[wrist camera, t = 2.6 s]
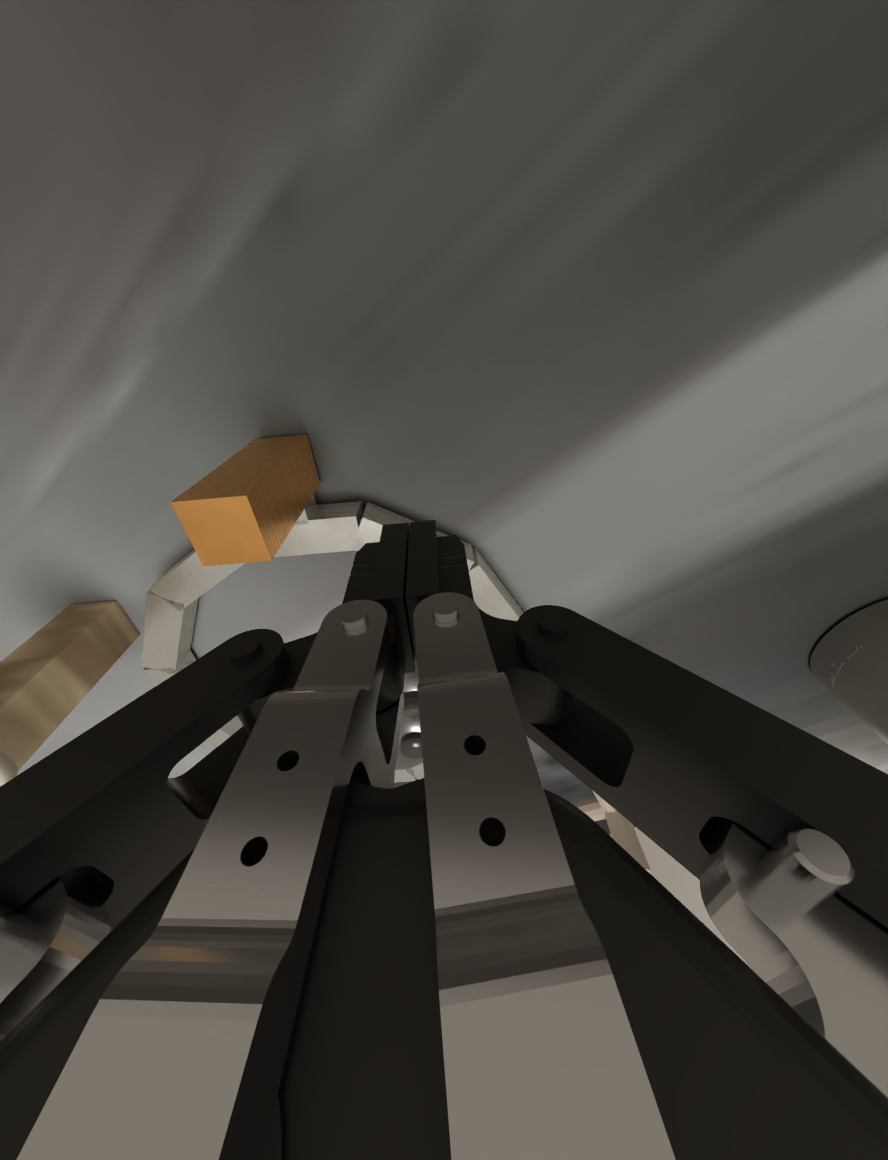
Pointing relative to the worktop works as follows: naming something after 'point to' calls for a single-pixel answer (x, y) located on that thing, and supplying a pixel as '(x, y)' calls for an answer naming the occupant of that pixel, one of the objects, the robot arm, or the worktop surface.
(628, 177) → the worktop surface
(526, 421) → the worktop surface
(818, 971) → the robot arm
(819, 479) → the worktop surface
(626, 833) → the pipe connector
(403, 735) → the cover
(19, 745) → the gauge stand
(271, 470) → the ring
